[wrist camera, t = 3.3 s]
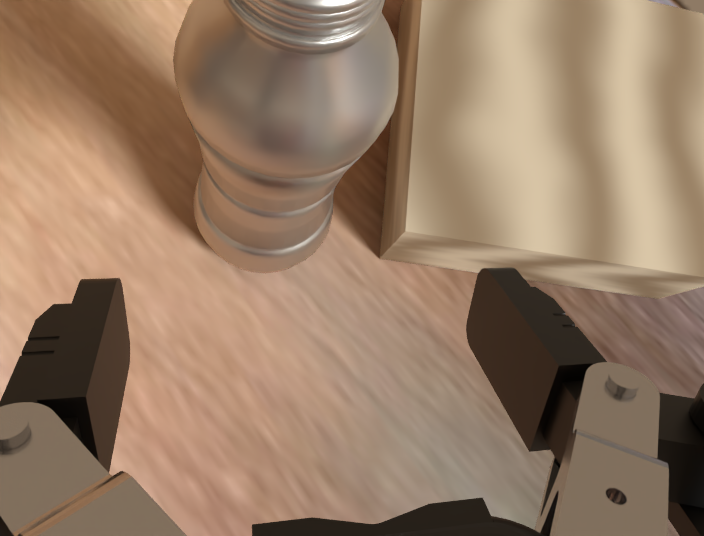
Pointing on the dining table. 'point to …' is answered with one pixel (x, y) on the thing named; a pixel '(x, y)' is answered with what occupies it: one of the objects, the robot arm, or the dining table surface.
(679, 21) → the oak pedestal
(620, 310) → the dining table surface
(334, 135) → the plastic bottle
